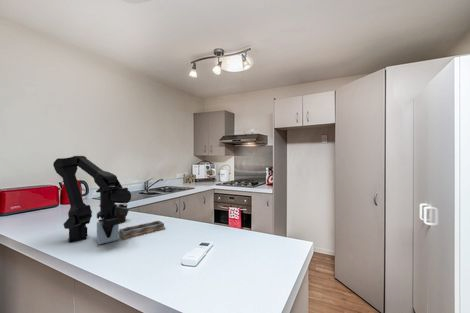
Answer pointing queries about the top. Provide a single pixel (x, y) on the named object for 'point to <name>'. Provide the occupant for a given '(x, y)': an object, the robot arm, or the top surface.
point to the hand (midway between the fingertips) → (107, 236)
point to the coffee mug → (122, 217)
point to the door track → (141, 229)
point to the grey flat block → (102, 236)
